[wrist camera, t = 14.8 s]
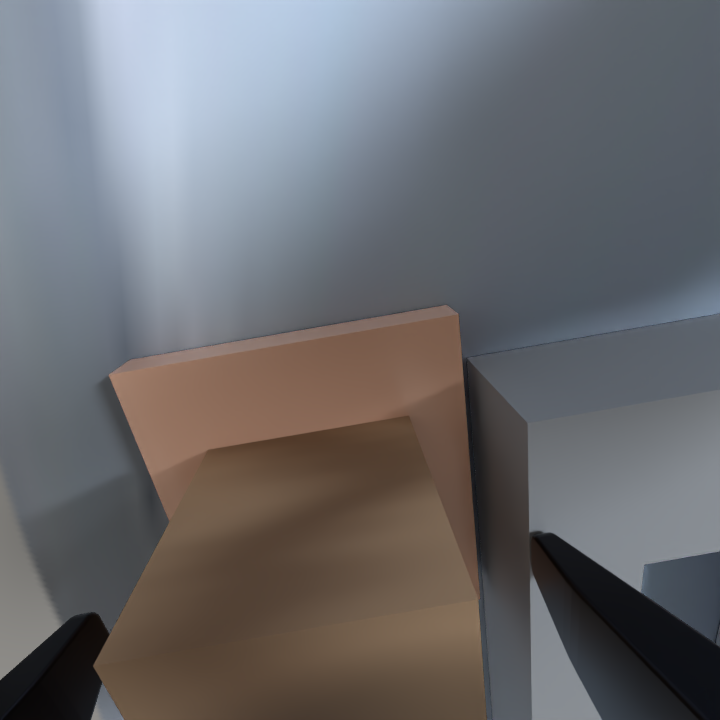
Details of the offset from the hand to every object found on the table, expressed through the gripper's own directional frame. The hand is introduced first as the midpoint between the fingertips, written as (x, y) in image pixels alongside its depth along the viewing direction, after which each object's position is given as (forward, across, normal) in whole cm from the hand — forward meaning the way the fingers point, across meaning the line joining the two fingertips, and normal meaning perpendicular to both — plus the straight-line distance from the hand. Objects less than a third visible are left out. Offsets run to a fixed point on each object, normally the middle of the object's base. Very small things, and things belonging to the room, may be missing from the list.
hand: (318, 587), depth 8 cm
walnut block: (+2, 0, +1) cm, 3 cm away
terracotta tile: (+4, 0, 0) cm, 4 cm away
